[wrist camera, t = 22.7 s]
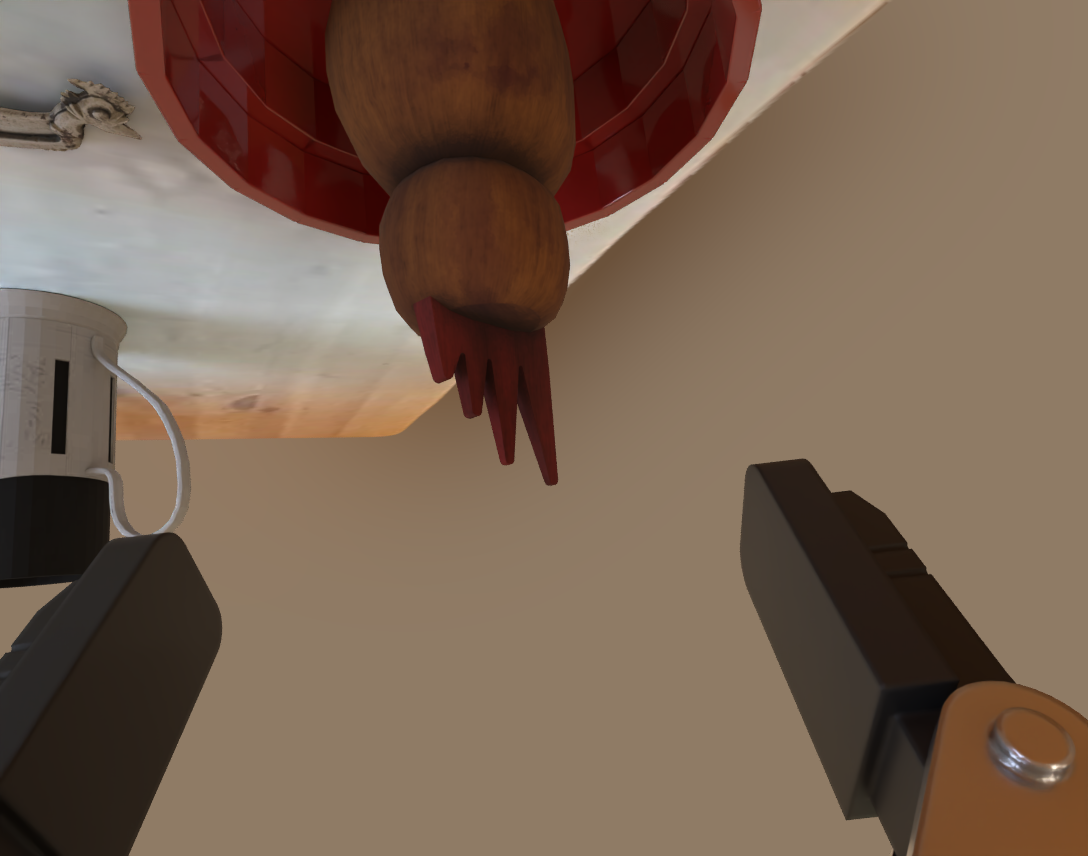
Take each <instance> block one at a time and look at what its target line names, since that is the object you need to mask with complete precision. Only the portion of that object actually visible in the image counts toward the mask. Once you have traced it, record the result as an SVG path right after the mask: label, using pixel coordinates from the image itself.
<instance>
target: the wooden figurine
mask: <svg viewBox="0 0 1088 856" xmlns="http://www.w3.org/2000/svg"><path fill="white" fill-rule="evenodd" d="M325 52H326V72H327V76H328V81H329V85H330V89H331V94H332V98H333V103H334V107H335V111H336V113H337V115H338V117H339V119H340V121H341V123H342V125H343V127H344V129H345V131H346V133H347V135H348V137H349V139H350V141H351V143H352V145H353V147H354V149H355V151H356V153H357V155H358V157H359V159H360V161H361V163H362V165H363V167H364V168H365V169H366V170H367V171H368V172H369V173H370V175H371V176H372V177H373V178H374V179H375V180H376V181H377V182H378V184H379V185H380V186H381V187H382V188H383V189H384V190H385V191H386V192H387V194H388V195H389V196H390V199H389V201H388V203H387V206H386V208H385V211H384V214H383V217H382V220H381V223H380V225H379V250H380V257H381V264H382V271H383V276H384V279H385V282H386V285H387V288H388V290H389V293H390V296H391V298H392V301H393V303H394V306H395V309H396V311H397V312H398V313H399V314H400V316H401V317H402V318H403V319H404V320H405V322H406V323H407V324H408V325H409V326H410V328H411V329H412V330H413V331H414V332H415V333H416V334H417V335H418V336H421V339H422V342H423V346H424V350H425V354H426V357H427V361H428V364H429V367H430V371H431V374H432V377H433V380H434V381H435V382H436V383H441V382H444V381H446V380H449V379H451V378H452V377H453V375H454V374H455V379H456V383H457V387H458V391H459V395H460V400H461V404H462V408H463V413H464V416H465V417H466V418H470V419H471V418H474V417H477V416H480V415H481V413H482V405H483V397H485V401H486V405H487V409H488V413H489V417H490V421H491V425H492V430H493V434H494V438H495V442H496V446H497V450H498V454H499V459H500V462H501V464H502V465H510V464H512V463H513V462H514V452H515V434H516V414H517V404H518V407H519V410H520V413H521V415H522V418H523V421H524V424H525V427H526V430H527V433H528V436H529V439H530V441H531V444H532V447H533V450H534V453H535V456H536V458H537V461H538V464H539V467H540V470H541V473H542V476H543V479H544V481H545V483H546V485H556V484H557V482H558V473H557V462H556V449H555V437H554V425H553V413H552V400H551V388H550V376H549V366H548V356H547V347H546V338H545V328H544V327H545V326H546V325H547V324H548V323H550V322H551V321H552V320H553V319H554V318H555V317H556V315H557V313H558V311H559V309H560V307H561V306H562V304H563V301H564V298H565V294H566V291H567V286H568V278H569V270H570V259H569V247H568V240H567V234H566V229H565V224H564V220H563V216H562V212H561V209H560V205H559V204H558V202H557V201H556V199H555V198H554V196H555V194H556V193H557V191H558V190H559V188H560V187H561V185H562V184H563V182H564V180H565V179H566V177H567V176H568V174H569V173H570V171H571V167H572V161H573V156H574V150H575V145H576V133H575V105H574V85H573V78H572V72H571V65H570V58H569V52H568V48H567V45H566V41H565V37H564V34H563V30H562V26H561V23H560V19H559V16H558V13H557V10H556V7H555V4H554V1H553V0H332V3H331V8H330V13H329V17H328V22H327V26H326V31H325Z"/></svg>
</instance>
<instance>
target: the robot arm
mask: <svg viewBox="0 0 1088 856" xmlns="http://www.w3.org/2000/svg"><path fill="white" fill-rule="evenodd" d="M740 557H741V565H742V571H743V576H744V580H745V583H746V586H747V589H748V592H749V594H750V597H751V599H752V601H753V604H754V606H755V608H756V611H757V613H758V615H759V617H760V620H761V622H762V625H763V627H764V629H765V632H766V634H767V636H768V639H769V641H770V643H771V646H772V648H773V650H774V653H775V655H776V658H777V660H778V662H779V665H780V667H781V669H782V671H783V674H784V676H785V679H786V681H787V683H788V686H789V688H790V690H791V693H792V695H793V697H794V700H795V702H796V704H797V707H798V709H799V711H800V714H801V716H802V718H803V721H804V723H805V725H806V727H807V730H808V732H809V735H810V737H811V739H812V742H813V744H814V746H815V749H816V751H817V753H818V756H819V758H820V760H821V763H822V765H823V767H824V769H825V772H826V774H827V777H828V779H829V781H830V784H831V786H832V788H833V791H834V793H835V795H836V798H837V800H838V802H839V805H840V807H841V809H842V812H843V814H844V816H845V819H846V820H852V819H860V818H870V817H879V819H880V822H881V824H882V826H883V828H884V830H885V832H886V834H887V836H888V839H889V841H890V843H891V845H892V850H891V853H890V856H1088V720H1087V719H1086V718H1084V717H1083V716H1082V715H1081V714H1080V713H1078V712H1077V711H1075V710H1074V709H1072V708H1071V707H1069V706H1068V705H1066V704H1065V703H1063V702H1061V701H1059V700H1057V699H1055V698H1054V697H1052V696H1050V695H1048V694H1045V693H1043V692H1040V691H1038V690H1036V689H1033V688H1029V687H1026V686H1023V685H1020V684H1016V683H1015V682H1014V680H1013V679H1012V678H1011V677H1010V676H1009V675H1008V673H1007V672H1006V671H1005V670H1004V668H1003V667H1002V666H1001V664H1000V663H999V662H998V661H997V659H996V658H995V657H994V655H993V654H992V653H991V651H990V650H989V649H988V647H987V646H986V645H985V644H984V642H983V641H982V640H981V638H980V637H979V636H978V634H977V633H976V632H975V630H974V629H973V628H972V627H971V625H970V624H969V623H968V621H967V620H966V619H965V618H964V616H963V615H962V614H961V612H960V611H959V610H958V608H957V607H956V606H955V604H954V603H953V602H952V600H951V599H950V598H949V597H948V596H947V594H946V593H945V591H944V590H943V589H942V587H941V586H940V585H939V583H938V582H937V581H936V580H935V578H934V577H933V576H932V575H931V574H929V575H928V573H927V571H926V566H925V565H924V564H923V563H922V561H921V560H920V559H919V557H918V556H917V555H916V553H915V552H914V551H913V550H912V549H909V548H908V546H907V542H906V540H905V539H904V538H903V537H902V535H901V534H900V533H899V532H898V530H897V529H896V527H895V526H894V525H893V524H892V522H891V521H890V519H889V518H888V517H887V516H886V514H885V513H883V512H882V511H880V510H879V509H877V508H876V507H874V506H873V505H871V504H870V503H868V502H867V501H865V500H864V499H863V498H861V497H860V496H858V495H856V494H855V493H854V492H852V491H842V492H835V493H831V492H830V490H829V489H828V487H827V486H826V485H825V483H824V482H823V480H822V479H821V477H820V476H819V474H818V473H817V471H816V470H815V469H814V467H813V466H812V464H811V463H810V462H809V461H808V460H806V459H795V460H788V461H779V462H770V463H762V464H753V465H750V466H749V467H748V468H747V471H746V475H745V487H744V500H743V514H742V527H741V541H740ZM221 636H222V621H221V614H220V611H219V608H218V605H217V603H216V602H215V600H214V598H213V596H212V594H211V592H210V590H209V588H208V586H207V585H206V583H205V581H204V579H203V577H202V575H201V573H200V571H199V570H198V568H197V566H196V564H195V562H194V560H193V558H192V556H191V555H190V553H189V551H188V549H187V547H186V545H185V544H184V542H183V540H182V539H181V538H180V537H179V536H178V535H176V534H174V533H171V532H166V533H158V534H150V535H141V536H133V537H124V538H117V539H113V540H111V541H109V542H108V543H107V544H106V545H105V546H104V547H103V548H102V549H101V551H100V552H99V553H98V555H97V556H96V557H95V559H94V560H93V561H92V563H91V564H90V565H89V567H88V568H87V570H86V571H85V572H84V574H83V575H82V576H81V578H80V579H79V580H75V581H74V582H72V583H71V584H70V585H69V586H68V587H66V588H65V589H64V590H63V591H62V592H60V593H59V594H58V595H57V596H55V597H54V598H53V599H52V600H51V601H49V602H48V603H47V604H46V605H45V606H43V607H42V608H41V609H40V610H39V611H37V613H36V614H35V615H34V617H33V618H32V619H31V620H30V622H29V623H28V624H27V626H26V627H25V628H24V630H23V631H22V632H21V634H20V635H19V636H18V637H17V639H16V640H15V641H14V643H13V644H12V645H11V647H12V650H11V652H9V653H5V654H4V656H3V657H2V658H1V659H0V856H128V855H129V853H130V851H131V848H132V846H133V844H134V841H135V839H136V837H137V835H138V832H139V830H140V828H141V826H142V823H143V821H144V819H145V816H146V814H147V812H148V809H149V807H150V805H151V803H152V800H153V798H154V796H155V794H156V791H157V789H158V787H159V784H160V782H161V780H162V778H163V775H164V773H165V771H166V769H167V766H168V764H169V762H170V760H171V757H172V755H173V753H174V750H175V748H176V746H177V744H178V741H179V739H180V737H181V735H182V732H183V730H184V728H185V725H186V723H187V721H188V719H189V716H190V714H191V712H192V710H193V707H194V705H195V703H196V700H197V698H198V696H199V693H200V691H201V689H202V687H203V684H204V682H205V680H206V678H207V675H208V673H209V671H210V669H211V666H212V664H213V662H214V659H215V657H216V655H217V652H218V650H219V647H220V643H221Z"/></svg>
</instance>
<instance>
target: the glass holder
mask: <svg viewBox="0 0 1088 856" xmlns="http://www.w3.org/2000/svg"><path fill="white" fill-rule="evenodd" d="M126 332H127V326H126V323H125V322H124V321H123V320H122V318H121V317H119V316H118V315H116V314H115V313H113V312H111V311H109V310H108V309H106V308H104V307H101V306H98V305H96V304H93V303H90V302H87V301H84V300H80V299H77V298H73V297H68V296H64V295H59V294H53V293H48V292H41V291H32V290H22V289H0V588H10V587H11V588H12V587H25V586H36V585H47V584H57V583H66V582H74V581H75V580H79V579H80V578H81V576H82V575H83V574H84V572H85V571H86V570H87V568H88V567H89V565H90V564H91V563H92V561H93V560H94V559H95V557H96V556H97V555H98V553H99V552H100V551H101V549H102V548H103V547H104V546H105V545H106V544H107V543H108V542H109V533H110V531H109V530H110V513H111V516H112V519H113V522H114V524H115V526H116V527H117V529H118V530H119V531H120V533H121V534H123V535H124V536H126V537H133V536H141V534H140V533H138V532H136V531H135V530H134V529H133V527H132V526H131V525H130V523H129V522H128V520H127V517H126V514H125V509H124V501H123V481H122V479H121V476H120V474H119V473H118V472H117V471H115V441H116V400H117V376H118V377H119V378H121V379H122V380H124V381H125V382H127V383H128V384H130V385H131V386H132V387H133V388H134V389H136V390H137V391H138V392H139V393H140V394H141V395H142V396H144V397H145V398H146V399H147V400H148V401H149V403H150V404H151V405H152V406H153V407H154V408H155V410H156V411H157V413H158V415H159V416H160V418H161V420H162V421H163V423H164V426H165V428H166V430H167V432H168V434H169V437H170V439H171V442H172V446H173V450H174V454H175V459H176V466H177V480H178V492H177V500H176V507H175V509H174V511H173V514H172V516H171V518H170V520H169V521H168V522H167V523H166V524H165V525H164V526H163V527H162V528H161V529H160V530H158V531H156V532H154V533H152V534H158V533H166V532H171V533H173V531H174V530H175V529H176V528H177V527H178V526H179V525H180V524H181V523H182V521H183V519H184V517H185V515H186V512H187V510H188V508H189V500H190V492H191V481H190V464H189V459H188V455H187V450H186V446H185V442H184V439H183V436H182V434H181V432H180V429H179V427H178V425H177V422H176V421H175V419H174V417H173V415H172V413H171V412H170V410H169V408H168V406H167V405H166V404H165V403H164V402H163V401H162V400H161V399H160V398H159V397H157V396H156V395H155V394H154V393H153V392H151V391H150V390H149V389H148V388H146V387H145V386H144V385H143V384H142V383H141V382H139V381H138V380H137V379H135V378H134V377H133V376H131V375H130V374H128V373H127V372H126V371H124V370H123V369H122V368H120V367H119V366H118V365H117V360H118V350H119V345H120V342H121V341H122V340H123V338H124V337H125V335H126Z"/></svg>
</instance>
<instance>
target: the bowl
mask: <svg viewBox="0 0 1088 856" xmlns="http://www.w3.org/2000/svg"><path fill="white" fill-rule="evenodd" d="M553 1H554V4H555V7H556V10H557V13H558V16H559V19H560V23H561V26H562V30H563V34H564V37H565V41H566V45H567V48H568V52H569V58H570V65H571V72H572V78H573V85H574V105H575V133H576V145H575V150H574V156H573V161H572V167H571V171H570V173H569V174H568V176H567V177H566V179H565V180H564V182H563V184H562V185H561V187H560V188H559V190H558V191H557V193H556V194H555V196H554V198H555V199H556V201H557V202H558V204H559V205H560V209H561V212H562V216H563V220H564V224H565V229H566V231H568V230H571V229H574V228H576V227H579V226H582V225H585V224H588V223H590V222H593V221H596V220H599V219H601V218H604V217H607V216H609V215H610V214H613V213H615V212H616V211H618V210H620V209H622V208H623V207H625V206H627V205H628V204H630V203H632V202H634V201H635V200H637V199H639V198H640V197H642V196H644V195H645V194H647V193H649V192H651V191H652V190H654V189H656V188H657V187H659V186H661V185H662V184H664V182H667V181H668V180H669V179H670V178H671V177H672V176H673V175H674V174H675V173H676V172H677V171H678V170H679V169H680V168H682V167H683V166H684V165H685V164H686V163H687V162H688V161H689V160H690V159H691V158H692V157H693V156H694V155H695V154H697V153H698V152H699V151H700V150H701V149H702V148H703V147H704V146H705V145H706V144H707V143H708V142H709V141H711V139H712V138H713V137H714V135H715V134H716V132H717V130H718V129H719V127H720V125H721V124H722V122H723V120H724V119H725V117H726V116H727V114H728V112H729V111H730V109H731V107H732V106H733V104H734V102H735V101H736V99H737V97H738V96H739V94H740V92H741V91H742V89H743V87H744V86H745V84H746V82H747V80H748V78H749V73H750V68H751V63H752V58H753V52H754V47H755V42H756V37H757V32H758V27H759V22H760V17H761V12H762V3H761V0H553ZM331 3H332V0H128V9H129V17H130V25H131V34H132V42H133V50H134V58H135V67H136V71H137V73H138V75H139V76H140V78H141V80H142V81H143V83H144V85H145V87H146V88H147V90H148V92H149V93H150V95H151V97H152V98H153V100H154V102H155V103H156V105H157V107H158V109H159V110H160V112H161V114H162V115H163V117H164V119H165V120H166V122H167V124H168V125H169V127H170V129H171V131H172V132H173V134H174V136H175V137H176V139H177V140H178V142H180V143H181V144H182V145H183V146H184V147H185V148H186V149H187V150H189V151H190V152H191V153H192V154H193V155H194V156H195V157H197V158H198V159H199V160H200V161H201V162H202V163H203V164H204V165H206V166H207V167H208V168H209V169H210V170H211V171H212V172H214V173H215V174H216V175H217V176H218V177H219V178H220V179H221V180H223V181H224V182H225V183H226V184H227V185H228V186H229V187H230V188H232V189H234V190H235V191H237V192H239V193H241V194H243V195H245V196H247V197H248V198H250V199H252V200H254V201H256V202H258V203H260V204H262V205H264V206H266V207H267V208H269V209H271V210H273V211H275V212H277V213H279V214H281V215H283V216H284V217H286V218H288V219H290V220H292V221H294V222H297V223H299V224H303V225H306V226H309V227H313V228H316V229H319V230H323V231H326V232H329V233H333V234H336V235H339V236H343V237H346V238H349V239H353V240H356V241H361V242H364V243H372V244H379V225H380V223H381V220H382V217H383V214H384V211H385V208H386V206H387V203H388V201H389V199H390V196H389V195H388V194H387V192H386V191H385V190H384V189H383V188H382V187H381V186H380V185H379V184H378V182H377V181H376V180H375V179H374V178H373V177H372V176H371V175H370V173H369V172H368V171H367V170H366V169H365V168H364V167H363V165H362V163H361V161H360V159H359V157H358V155H357V153H356V151H355V149H354V147H353V145H352V143H351V141H350V139H349V137H348V135H347V133H346V131H345V129H344V127H343V125H342V123H341V121H340V119H339V117H338V115H337V113H336V111H335V107H334V103H333V98H332V94H331V89H330V85H329V81H328V76H327V72H326V52H325V31H326V26H327V22H328V17H329V13H330V8H331Z"/></svg>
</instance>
